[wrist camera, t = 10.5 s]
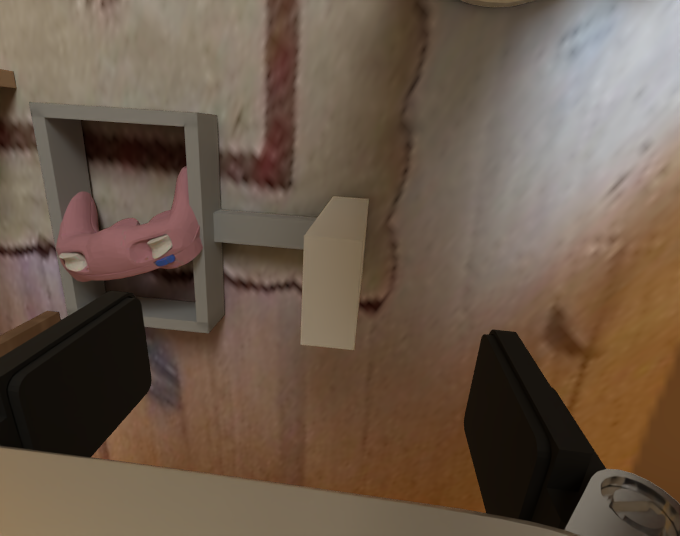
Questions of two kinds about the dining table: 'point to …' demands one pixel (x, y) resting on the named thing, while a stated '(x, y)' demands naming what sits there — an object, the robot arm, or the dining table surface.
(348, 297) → the grey drawer with handle
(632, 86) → the dining table surface
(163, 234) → the video game controller
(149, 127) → the dining table surface
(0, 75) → the brown wooden stand
